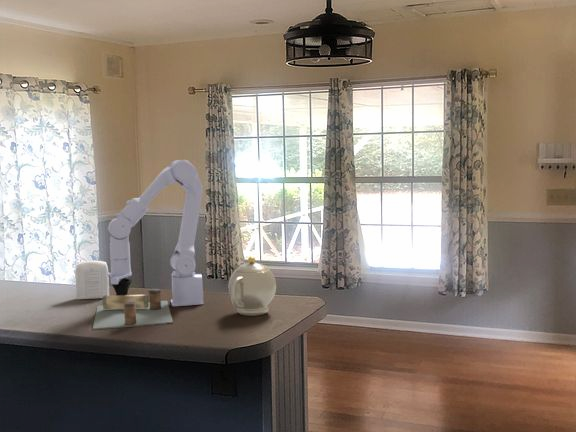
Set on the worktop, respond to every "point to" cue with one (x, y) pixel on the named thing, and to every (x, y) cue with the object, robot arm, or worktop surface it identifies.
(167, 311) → the mat
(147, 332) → the worktop surface
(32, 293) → the worktop surface
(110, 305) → the cream long bar
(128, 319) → the latch post
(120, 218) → the robot arm
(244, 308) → the teapot
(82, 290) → the white upright rounded block
